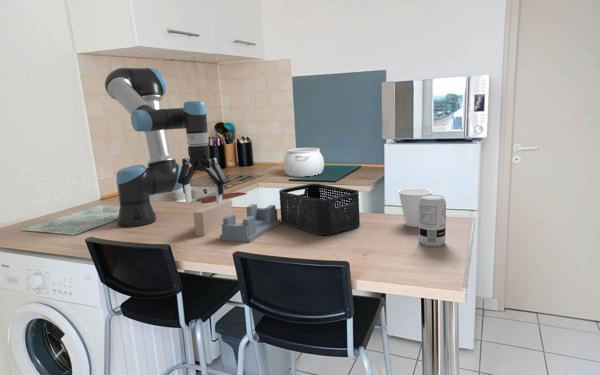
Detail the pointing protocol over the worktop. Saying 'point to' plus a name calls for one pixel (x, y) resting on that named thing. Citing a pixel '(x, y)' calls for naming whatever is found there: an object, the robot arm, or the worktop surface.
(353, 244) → the worktop surface
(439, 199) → the supplement can
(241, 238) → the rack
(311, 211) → the storage bin
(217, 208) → the tan rectangular block
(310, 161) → the pot
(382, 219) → the worktop surface
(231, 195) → the wooden tablet
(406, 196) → the cup
